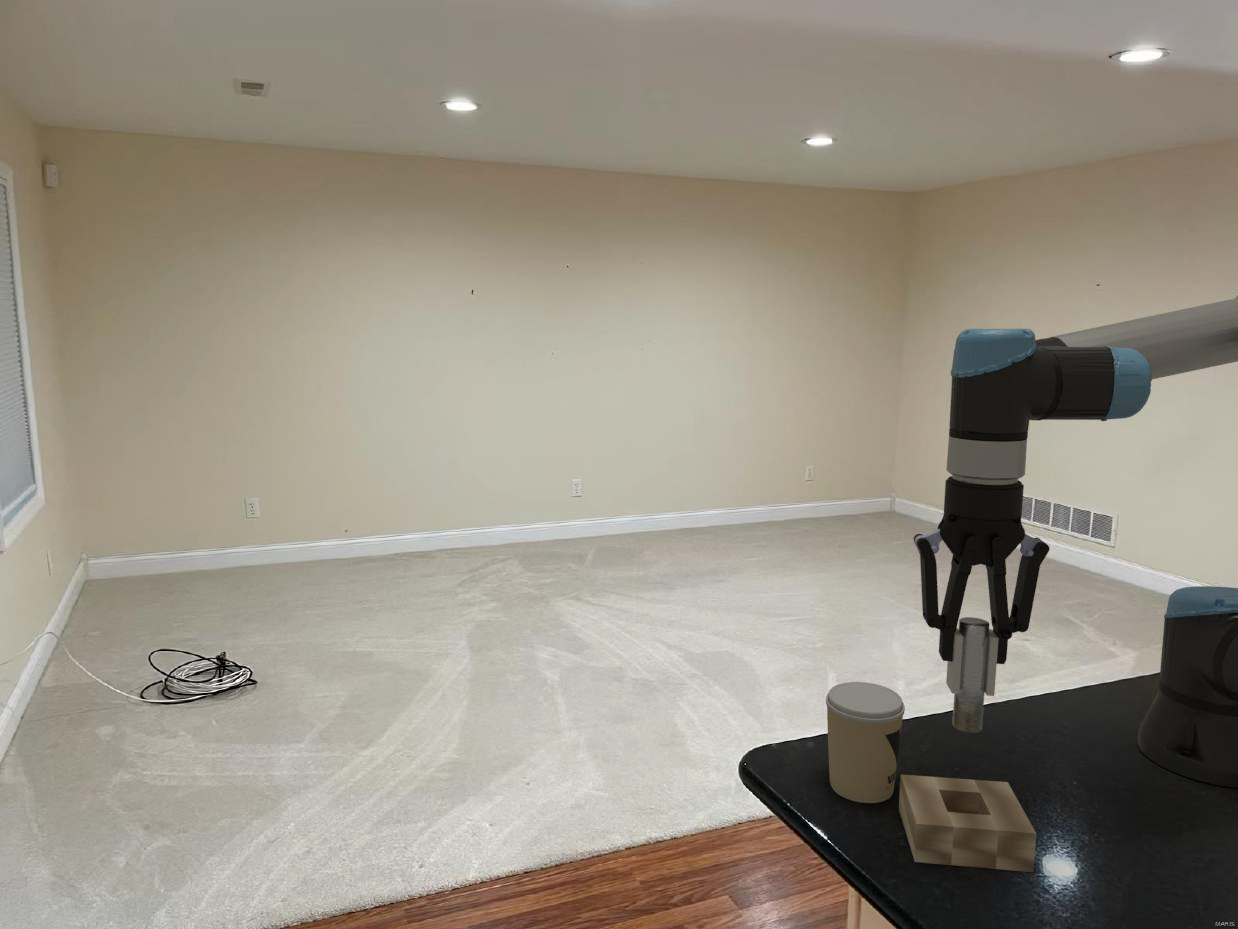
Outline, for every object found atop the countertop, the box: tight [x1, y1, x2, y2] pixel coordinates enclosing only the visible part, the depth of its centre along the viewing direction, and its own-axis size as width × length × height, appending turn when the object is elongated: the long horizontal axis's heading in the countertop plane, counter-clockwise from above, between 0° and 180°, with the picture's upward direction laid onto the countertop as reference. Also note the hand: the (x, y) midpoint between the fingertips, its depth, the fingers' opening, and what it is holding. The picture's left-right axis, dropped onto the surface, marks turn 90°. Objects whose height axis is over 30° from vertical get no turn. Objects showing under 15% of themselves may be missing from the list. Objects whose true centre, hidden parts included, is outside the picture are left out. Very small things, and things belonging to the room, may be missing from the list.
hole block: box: [898, 774, 1037, 873], centre depth 93 cm, size 12×10×4 cm
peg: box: [952, 616, 990, 734], centre depth 90 cm, size 3×3×12 cm
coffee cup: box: [825, 681, 906, 804], centre depth 103 cm, size 9×9×12 cm
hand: (969, 689), depth 90 cm, fingers closed on peg, 3 cm apart
